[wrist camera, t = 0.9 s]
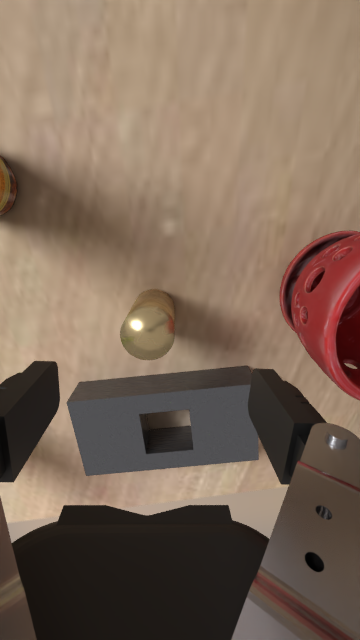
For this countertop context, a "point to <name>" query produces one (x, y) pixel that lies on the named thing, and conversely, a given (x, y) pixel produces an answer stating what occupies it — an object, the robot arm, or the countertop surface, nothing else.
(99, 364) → the countertop surface
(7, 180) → the sauce bottle
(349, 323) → the plant pot
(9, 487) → the countertop surface
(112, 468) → the jig
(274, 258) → the countertop surface
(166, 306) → the gold cylinder
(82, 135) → the countertop surface
